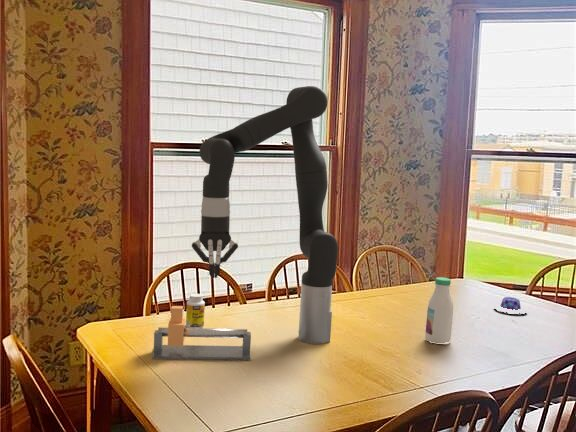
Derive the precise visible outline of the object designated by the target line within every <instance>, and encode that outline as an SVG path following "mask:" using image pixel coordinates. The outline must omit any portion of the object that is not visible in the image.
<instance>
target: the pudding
mask: <svg viewBox="0 0 576 432" xmlns="http://www.w3.org/2000/svg"><path fill="white" fill-rule="evenodd" d="M499 306H501V307H503V308H507V309H512V310H513V309H515V310H518V309H522V308H521V302H520V299H519V298H516V297H510V296H507V297H504V298H502V300H501V303H500V305H499Z"/></svg>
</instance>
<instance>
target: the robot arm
mask: <svg viewBox="0 0 576 432" xmlns="http://www.w3.org/2000/svg"><path fill="white" fill-rule="evenodd" d="M328 101H329V100H328V96H327V93H325V91H324V90H323V89H322V88H320V87H318V86H316V85H315V86H314V85H307V86H300V87H295V88H293V89H291V90H290V91H289V93H288V95H287V96H286V101H285V102H286V104H284V105H282V106H280V107H277V108H276V109H273V110H270V111H268V112H264V113H262V114H259V115H255V116H254V117H252V118H250V119H248V120H246V121H243V122H242V123H240V124H238V125H237V126H234V127H233V128H231V129H229V130H226V131H223V132H221V133H218V134H215V135H213V136H211V137H209V138H207V139H206V140H204V141H203V142H202V144H201V145H200V147H199V151H198V152H199V157H200V159H201V160H202V161H203V162H204V163H206V164H208V165H209V167H208V174H206V175H205V176H203V181H202V200H201V210H200V212H201V213H200V214H201V217H200V219H201V220H200V221H201V222H200V226H201V227H200V228H201V229H200V235H199V237H198V239H197V240H195V241H193V242H192V243H191V248H192V249H193V251H194V252H195V253H196V254H197V255H198V257H199V258H200V259H201V261H202V262H204V263H208V265H209V266H208V267H209V268H208V271H209V272H208V274H209V276H211V279H217V278H218V277H219V276H220V274H221V272H220V271H221V264H223V263H226V262H227V261H228V260H230V257H231V256H233V254H234V253H235V251H236V250H237V249H238V248H239V244H238V242H235V241H234V240H232V237H231V235H230V225H231V224H230V220H231V216H230V214H231V203H230V181H231V177H232V173H233V169H234V165H235V157H236V156H235V154H236V153H241V152H242V153H243V152H247V151H248V150H252V148H254V147H257V146H258V145H259V144H262V143H263V142H265V141H268V140H269V139H271V138H272V137H274V136H275V135H277V134H279V133H282V132H283V131H286V130H287V129H290V134H291V140H292V151H293V159H294V173H295V182H296V192H297V193H296V194H297V203H298V212H299V248H300V252H301V253H302V255H303V256H304V257H306V258H307V259H308V266H307V270H306V271H305V272H303V273H302V274H301V275H302V276H301V286H300V287H301V288H300V301H299V302H300V304H299V318H298V319H299V320H298V336H297V337H298V340H299V341H301V342H302V343H307V344H314V345H317V344H320V345H321V344H325V343H331V333H332V331H331V330H332V329H331V328H332V317H333V311H332V309H331V308H332V307H331V306H332V296H333V295H332V293H333V281H334V278H335V276H336V274H337V273H336V272H337V263H338V255H339V246H338V244H339V243H338V240H337V239H336V237H335V236H334V235H333V234H332V233H329V232H326V231H325V228H324V221H323V207H324V202H325V200H326V195H327V193H328V182H329V181H328V171H327V164H326V160H325V157H324V155H323V153H322V151H321V149H320V147H319V145H318V143H317V139H316V137H315V133H314V126H313V125H314V123H313V122H314V121H313V119H314V120H315V119H317V118H319V117H322V115H323V114H324V113H325V112H326V110H327V108H328ZM228 244H229V245H228ZM202 246H203V247H204V249H205V250H206V251H208V256H207V255H206V253H205V252H204V251H203V250H202V249H201V248H202ZM226 247H228V250H227V251H226V252H225V254H224V255H223V256H221V255H222V251H224V250H225V249H226ZM214 252H216V253H215V256H214ZM214 257H215V258H214Z"/></svg>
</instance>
